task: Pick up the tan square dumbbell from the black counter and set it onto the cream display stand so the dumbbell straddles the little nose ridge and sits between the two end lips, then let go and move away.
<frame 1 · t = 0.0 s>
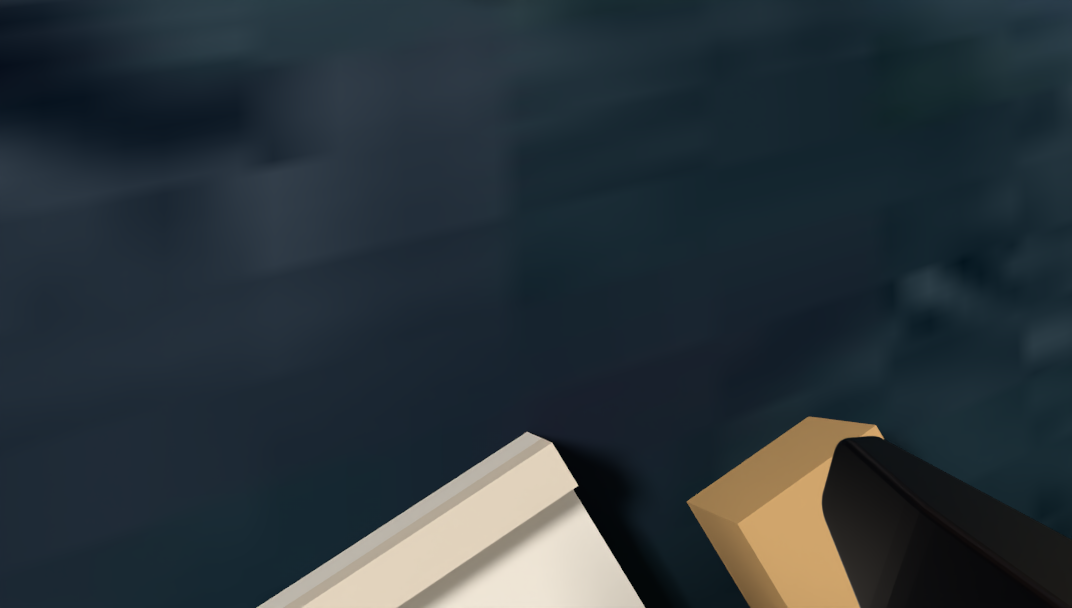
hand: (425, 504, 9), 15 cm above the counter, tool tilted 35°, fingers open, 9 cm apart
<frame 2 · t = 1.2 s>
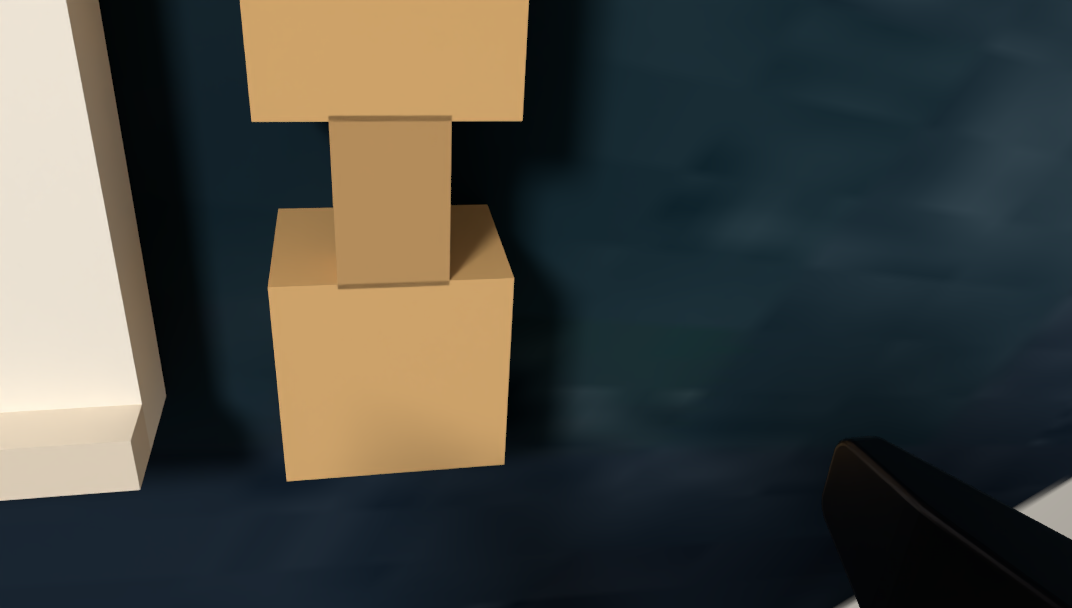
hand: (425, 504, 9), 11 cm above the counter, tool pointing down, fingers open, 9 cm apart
tan square dumbbell: (383, 138, 19), on the counter
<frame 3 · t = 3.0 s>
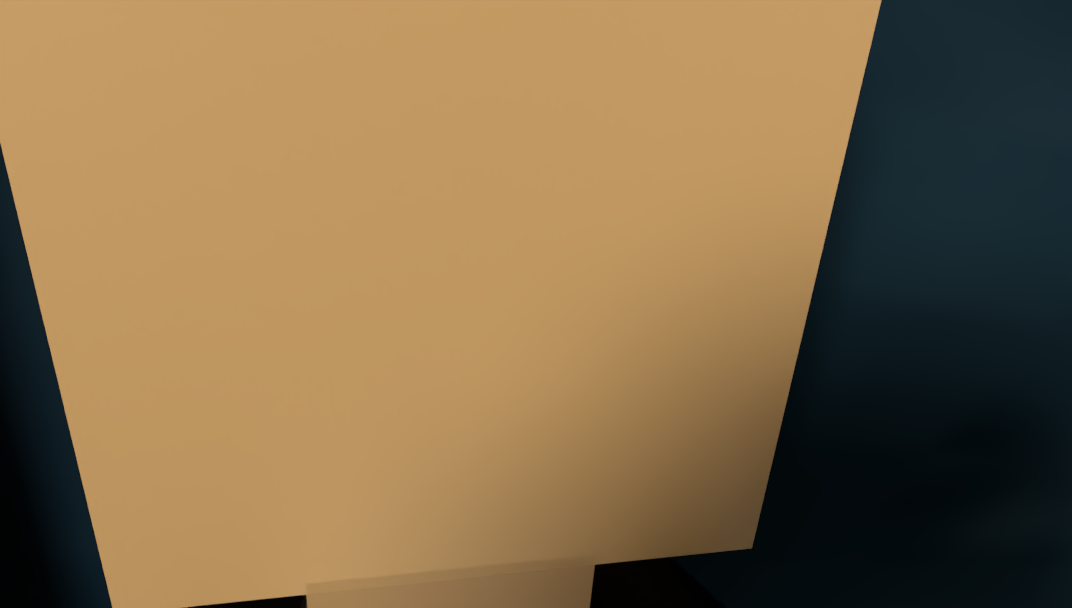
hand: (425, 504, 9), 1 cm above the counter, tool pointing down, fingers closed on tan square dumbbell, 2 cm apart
tan square dumbbell: (416, 440, 10), on the counter, touching gripper
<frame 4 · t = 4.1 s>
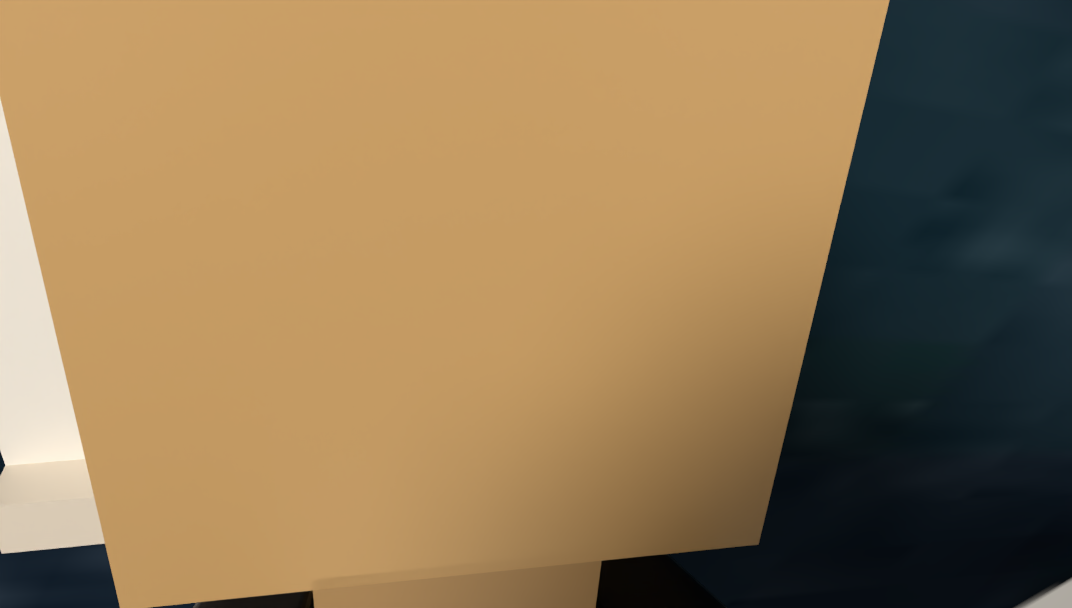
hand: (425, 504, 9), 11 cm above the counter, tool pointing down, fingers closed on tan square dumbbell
tan square dumbbell: (420, 437, 10), point 10 cm above the counter, touching gripper
display stand: (204, 95, 17), on the counter
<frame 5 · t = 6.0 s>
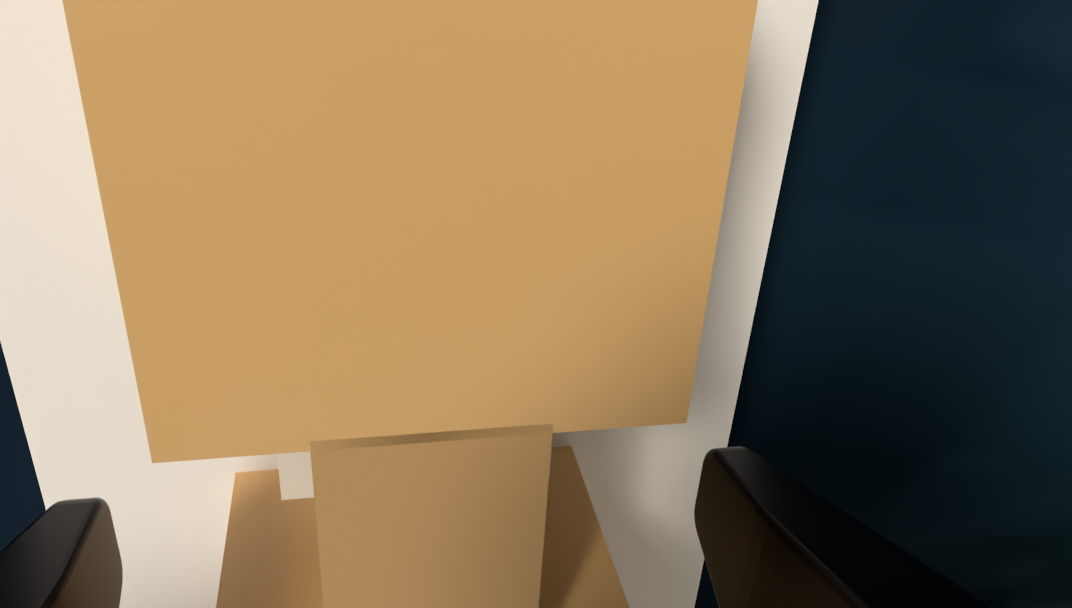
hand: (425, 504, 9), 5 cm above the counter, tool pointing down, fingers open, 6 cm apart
tan square dumbbell: (407, 363, 11), point 2 cm above the counter, touching display stand
display stand: (399, 289, 13), on the counter
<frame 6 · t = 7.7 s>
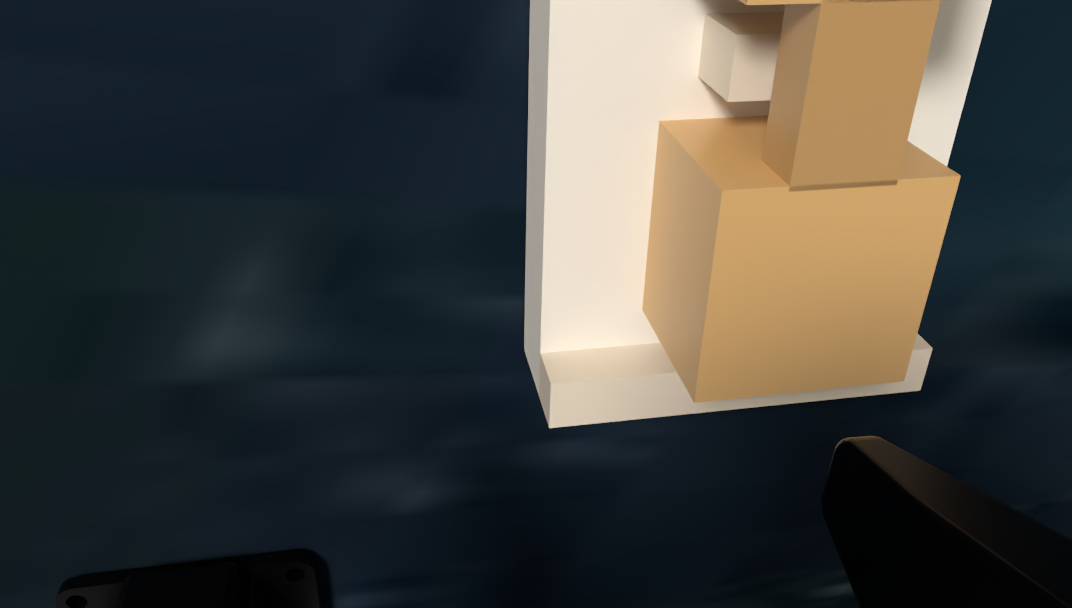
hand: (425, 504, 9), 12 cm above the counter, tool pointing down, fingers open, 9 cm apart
tan square dumbbell: (774, 41, 18), point 2 cm above the counter, touching display stand
display stand: (736, 19, 19), on the counter
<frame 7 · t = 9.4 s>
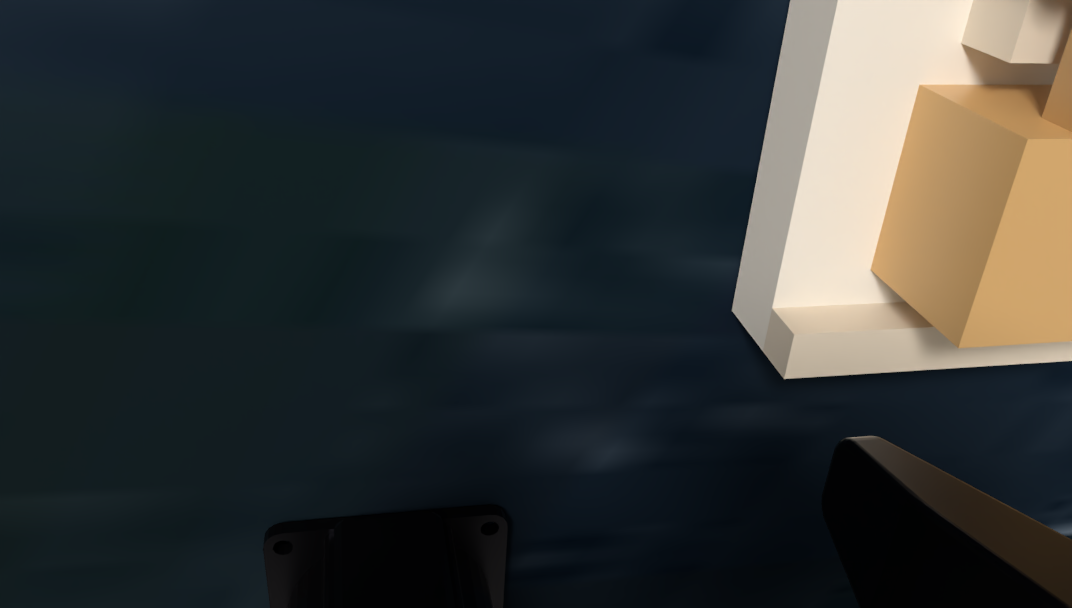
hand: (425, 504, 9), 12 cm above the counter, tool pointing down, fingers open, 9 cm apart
tan square dumbbell: (1032, 13, 19), point 2 cm above the counter, touching display stand
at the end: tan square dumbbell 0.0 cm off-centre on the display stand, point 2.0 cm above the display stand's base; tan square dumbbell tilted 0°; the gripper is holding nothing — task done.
